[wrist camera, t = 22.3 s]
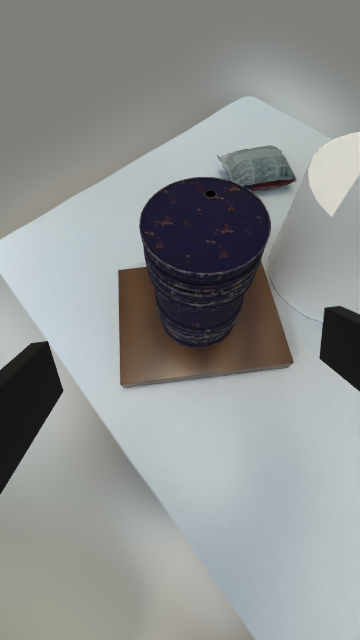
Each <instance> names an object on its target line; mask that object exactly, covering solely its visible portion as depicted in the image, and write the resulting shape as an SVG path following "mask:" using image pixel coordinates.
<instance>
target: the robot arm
mask: <svg viewBox="0 0 360 640" xmlns="http://www.w3.org/2000/svg"><path fill="white" fill-rule="evenodd" d="M320 359H321V360H322V361H323V362H324V363H326V364H327V365H328V366H329V367H330V368H332V369H333V370H334V371H335V372H337V373H338V374H339V375H340V376H341V377H343V378H344V379H345V380H346V381H348V382H349V383H350V384H351V385H352V386H354V387H355V388H356V389H357V390H359V391H360V314H358V313H356V312H354V311H351V310H349V309H347V308H344V307H342V306H334V307H326V308H324V318H323V328H322V338H321V349H320ZM62 392H63V388H62V385H61V382H60V379H59V375H58V372H57V369H56V366H55V362H54V359H53V356H52V353H51V350H50V346H49V343H48V341H45V342H37V343H31V344H30V345H29V346H27V348H25V349H24V350H23V351H22V352H21V353H19V354H18V355H17V356H16V357H15V358H14V359H13V360H11V361H10V362H9V363H8V364H7V365H6V366H5V367H3V368H2V369H1V370H0V494H1V492H2V491H3V489H4V488H5V486H6V484H7V483H8V481H9V479H10V478H11V476H12V474H13V473H14V471H15V470H16V468H17V466H18V465H19V463H20V461H21V460H22V458H23V456H24V455H25V453H26V452H27V450H28V448H29V446H30V445H31V443H32V442H33V440H34V438H35V437H36V435H37V434H38V432H39V430H40V428H41V427H42V425H43V424H44V422H45V420H46V419H47V417H48V416H49V414H50V412H51V411H52V409H53V407H54V406H55V404H56V402H57V401H58V399H59V397H60V396H61V394H62Z"/></svg>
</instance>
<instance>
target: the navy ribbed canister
mask: <svg viewBox="0 0 360 640" xmlns="http://www.w3.org/2000/svg"><path fill="white" fill-rule="evenodd" d="M139 228H140V234H141V238H142V242H143V246H144V256H145V261H146V265H147V268H148V274H149V277H150V280H151V282H152V283H153V285H154V287H155V298H156V307H157V311H158V314H159V317H160V320H161V323H162V326H163V328H164V330H165V332H166V333H167V334H168V335H169V336H170V337H171V338H172V339H173V340H174V341H176V342H177V343H179V344H181V345H184V346H187V347H191V348H205V347H210V346H213V345H215V344H217V343H219V342H221V341H222V340H223V339H225V338H226V337H227V336H228V335H229V333H230V332H231V330H232V328H233V326H234V324H235V322H236V321H237V319H238V316H239V314H240V311H241V307H242V304H243V299H244V294H245V292H246V291H247V290H248V289H249V287H250V286H251V284H252V282H253V280H254V277H255V274H256V272H257V269H258V267H259V265H260V262H261V258H262V254H263V252H264V249H265V246H266V244H267V242H268V239H269V236H270V231H271V221H270V217H269V213H268V211H267V209H266V207H265V205H264V204H263V202H262V201H261V200H260V199H259V198H258V197H257V196H256V195H255V194H254V193H253V192H251V191H250V190H249V189H247V188H245V187H243V186H242V185H240V184H237V183H235V182H232V181H229V180H225V179H220V178H214V177H195V178H189V179H184V180H180V181H177V182H174V183H172V184H169V185H168V186H166V187H164V188H162V189H161V190H159V191H158V192H157V193H155V194H154V195H153V196H152V197H151V198H150V199H149V201H148V202H147V203H146V205H145V207H144V209H143V211H142V213H141V217H140V225H139Z"/></svg>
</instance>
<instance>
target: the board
mask: <svg viewBox="0 0 360 640" xmlns="http://www.w3.org/2000/svg"><path fill="white" fill-rule="evenodd" d="M118 277H119V333H120V384H121V386H123V387H124V388H128V387H136V386H144V385H152V384H160V383H168V382H176V381H184V380H192V379H199V378H207V377H215V376H223V375H231V374H239V373H247V372H255V371H263V370H271V369H278V368H286V367H289V366H290V365H291V364H293V363H294V362H293V359H292V356H291V353H290V350H289V347H288V344H287V340H286V337H285V334H284V331H283V328H282V325H281V322H280V319H279V316H278V312H277V309H276V306H275V303H274V300H273V297H272V294H271V291H270V287H269V284H268V281H267V278H266V275H265V272H264V269H263V266H262V262H260V265H259V267H258V269H257V272H256V274H255V277H254V280H253V282H252V284H251V286H250V287H249V289H248V290H247V291H246V292H245V294H244V299H243V304H242V307H241V311H240V314H239V316H238V319H237V321H236V322H235V324H234V326H233V328H232V330H231V332H230V333H229V335H228V336H227V337H226V338H225V339H223V340H222V341H221V342H219V343H217V344H215V345H213V346H210V347H205V348H191V347H187V346H184V345H181V344H179V343H177V342H176V341H174V340H173V339H172V338H171V337H170V336H169V335H168V334H167V333H166V332H165V330H164V328H163V326H162V323H161V320H160V317H159V314H158V311H157V307H156V298H155V287H154V285H153V283H152V282H151V280H150V277H149V274H148V268H147V267H141V268H133V269H124V270H118Z"/></svg>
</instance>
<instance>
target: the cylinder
mask: <svg viewBox="0 0 360 640" xmlns="http://www.w3.org/2000/svg"><path fill="white" fill-rule="evenodd" d="M268 272H269V275H270V278H271V281H272V284H273V286H274V287H275V289H276V290H277V292H278V294H279V295H280V297H281V298H283V299H284V300H285V301H286V302H287V303H288V304H289V305H290V306H291V307H292V308H293V309H295V310H297V311H298V312H300V313H302V314H303V315H305V316H307V317H308V318H311V319H314V320H317V321H320V322H323V318H324V308H326V307H334V306H342V307H344V308H347V309H349V310H351V311H354V312H356V313H358V314H360V132H356V133H352V134H348V135H345V136H341V137H338V138H335V139H334V140H332V141H330V142H328V143H326V144H325V145H323V146H322V147H321V148H320V149H319V150H318V151H317V152H316V153H315V155H314V156H313V157H312V159H311V162H310V164H309V166H308V168H307V171H306V173H305V175H304V177H303V180H302V182H301V184H300V187H299V189H298V191H297V193H296V196H295V198H294V200H293V202H292V205H291V207H290V209H289V211H288V214H287V216H286V218H285V221H284V223H283V225H282V227H281V230H280V232H279V234H278V236H277V239H276V241H275V243H274V246H273V248H272V250H271V253H270V256H269V258H268Z"/></svg>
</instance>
